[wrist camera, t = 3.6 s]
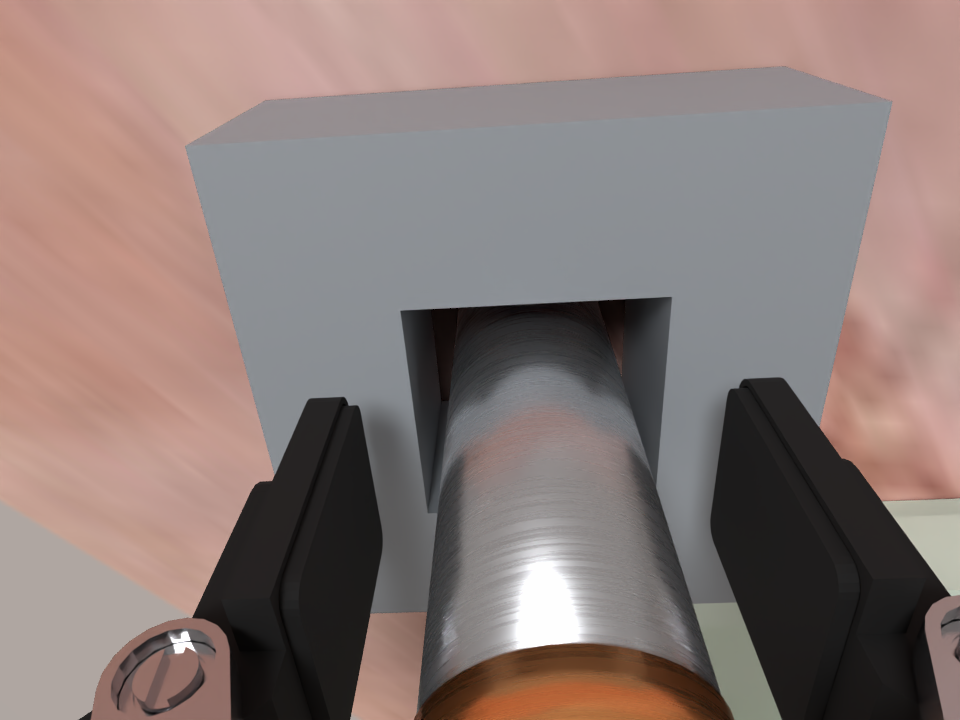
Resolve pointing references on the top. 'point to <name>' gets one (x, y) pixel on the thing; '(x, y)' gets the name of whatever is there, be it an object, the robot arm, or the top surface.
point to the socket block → (542, 259)
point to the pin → (553, 538)
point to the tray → (928, 524)
